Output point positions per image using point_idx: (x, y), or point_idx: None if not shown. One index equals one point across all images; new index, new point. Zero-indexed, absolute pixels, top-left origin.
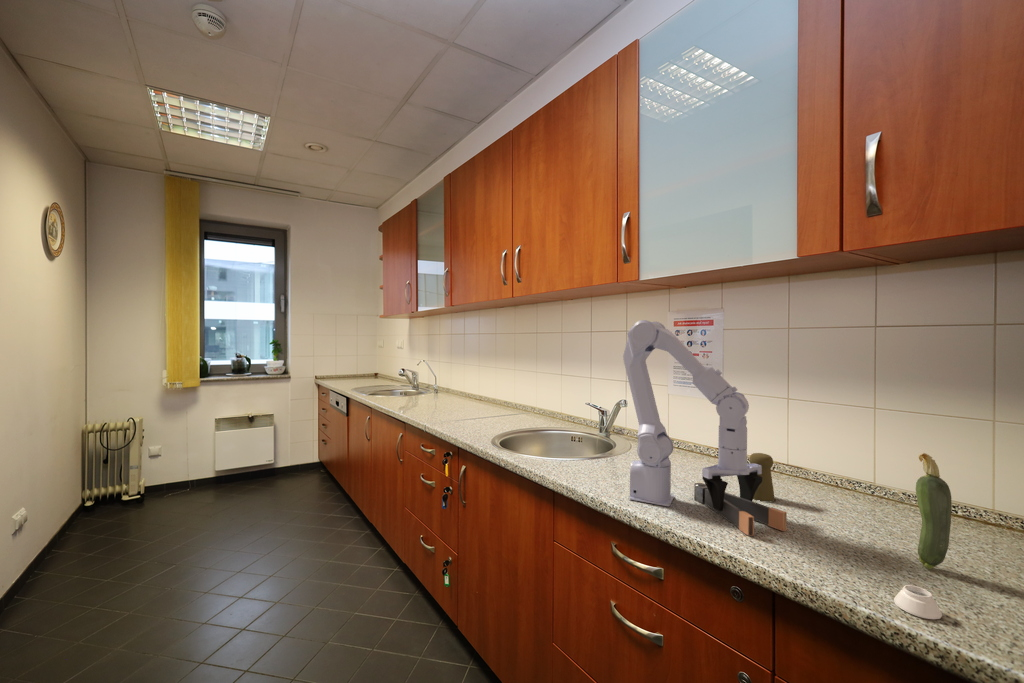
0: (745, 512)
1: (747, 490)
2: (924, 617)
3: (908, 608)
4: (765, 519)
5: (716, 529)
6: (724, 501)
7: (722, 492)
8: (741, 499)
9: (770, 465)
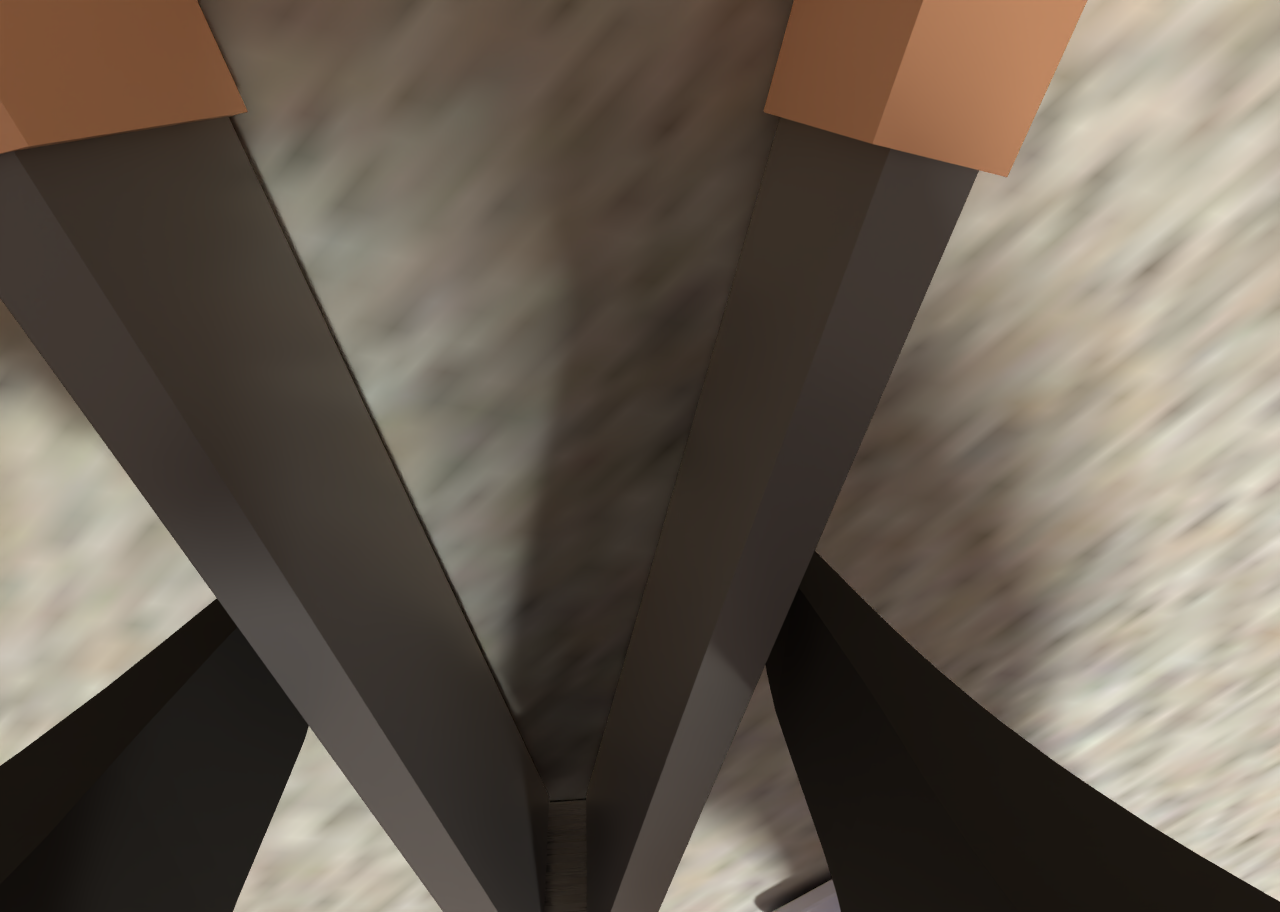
0: (942, 51)
1: (134, 861)
2: None
3: None
4: (228, 194)
5: (1108, 247)
6: (763, 661)
7: (1000, 790)
8: (362, 694)
9: None
